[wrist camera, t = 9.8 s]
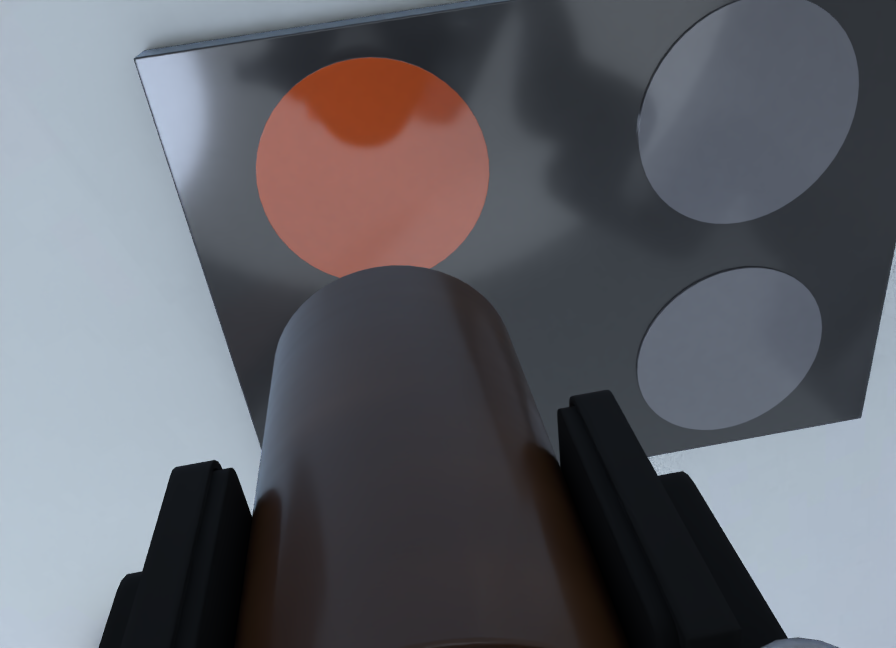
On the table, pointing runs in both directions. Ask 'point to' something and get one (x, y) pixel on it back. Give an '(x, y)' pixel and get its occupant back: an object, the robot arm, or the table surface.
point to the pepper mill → (412, 484)
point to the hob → (565, 191)
